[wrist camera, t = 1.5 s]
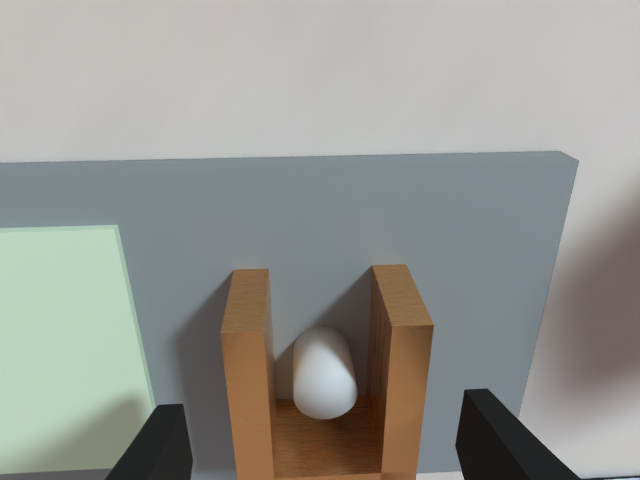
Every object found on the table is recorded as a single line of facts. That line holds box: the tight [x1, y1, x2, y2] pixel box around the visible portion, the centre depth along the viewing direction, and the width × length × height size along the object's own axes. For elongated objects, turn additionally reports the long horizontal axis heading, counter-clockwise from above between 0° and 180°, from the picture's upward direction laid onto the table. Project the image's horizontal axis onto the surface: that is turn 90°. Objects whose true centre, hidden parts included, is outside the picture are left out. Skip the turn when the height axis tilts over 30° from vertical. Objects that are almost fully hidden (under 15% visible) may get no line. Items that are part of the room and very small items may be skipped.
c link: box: [220, 264, 434, 480], centre depth 14 cm, size 6×5×3 cm
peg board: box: [0, 151, 579, 480], centre depth 14 cm, size 12×24×3 cm, turn 90°
